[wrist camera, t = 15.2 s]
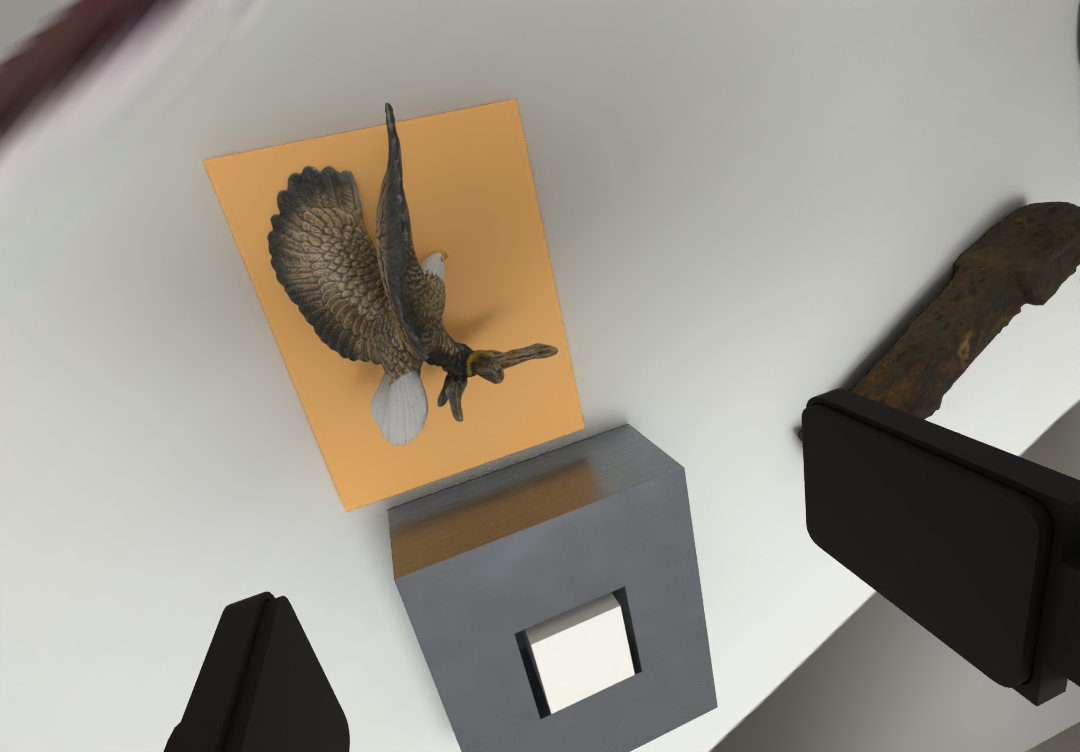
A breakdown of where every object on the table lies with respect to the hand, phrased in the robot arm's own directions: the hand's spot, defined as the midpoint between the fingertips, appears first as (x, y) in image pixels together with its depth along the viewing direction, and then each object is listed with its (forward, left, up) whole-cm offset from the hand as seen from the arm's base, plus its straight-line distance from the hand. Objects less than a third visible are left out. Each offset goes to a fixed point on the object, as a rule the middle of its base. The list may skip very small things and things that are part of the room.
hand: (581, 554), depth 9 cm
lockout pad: (+1, -2, -15) cm, 15 cm away
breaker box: (-1, +13, -15) cm, 20 cm away
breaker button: (-1, +13, -13) cm, 19 cm away
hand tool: (-25, +6, -15) cm, 30 cm away
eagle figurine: (+1, -4, -14) cm, 15 cm away
